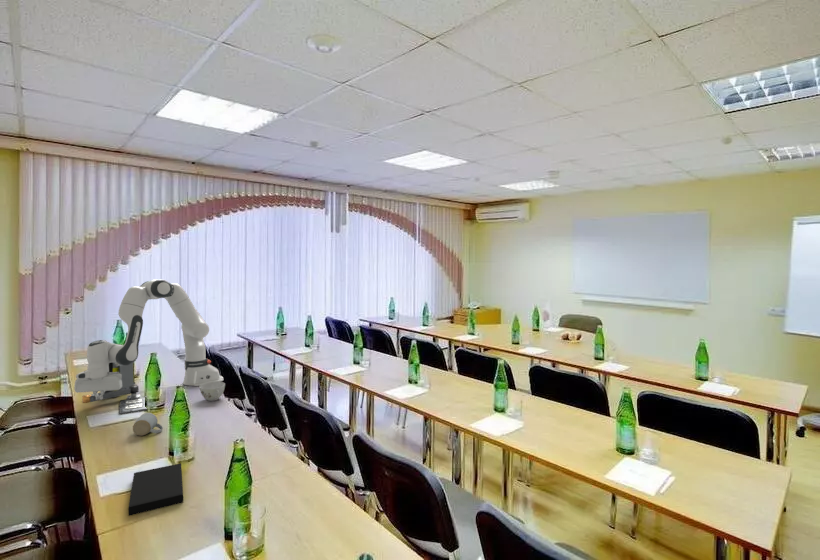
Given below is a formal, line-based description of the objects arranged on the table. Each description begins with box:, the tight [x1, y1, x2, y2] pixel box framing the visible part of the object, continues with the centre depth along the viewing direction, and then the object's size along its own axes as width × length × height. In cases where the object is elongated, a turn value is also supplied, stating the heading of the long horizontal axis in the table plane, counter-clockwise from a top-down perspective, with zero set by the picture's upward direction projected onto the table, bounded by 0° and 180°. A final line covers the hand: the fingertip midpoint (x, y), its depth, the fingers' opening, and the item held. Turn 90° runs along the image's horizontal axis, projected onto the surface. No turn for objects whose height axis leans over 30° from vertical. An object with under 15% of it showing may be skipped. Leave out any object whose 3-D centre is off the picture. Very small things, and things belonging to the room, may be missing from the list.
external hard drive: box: [127, 462, 184, 517], centre depth 138 cm, size 14×23×3 cm, turn 30°
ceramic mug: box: [132, 412, 164, 437], centre depth 185 cm, size 11×8×8 cm
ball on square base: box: [126, 393, 141, 399], centre depth 231 cm, size 6×6×3 cm
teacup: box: [199, 381, 226, 402], centre depth 228 cm, size 15×12×8 cm
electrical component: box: [105, 362, 138, 399], centre depth 239 cm, size 18×10×20 cm, turn 179°
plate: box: [118, 396, 148, 415], centre depth 218 cm, size 12×22×1 cm, turn 33°
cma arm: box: [81, 385, 139, 404], centre depth 223 cm, size 25×4×3 cm, turn 142°
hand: (99, 399), depth 216 cm, fingers closed
